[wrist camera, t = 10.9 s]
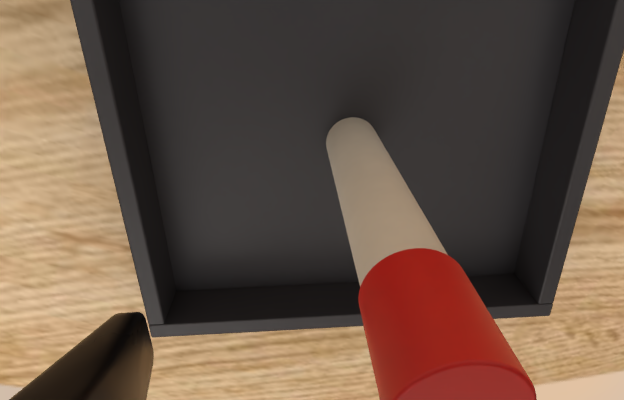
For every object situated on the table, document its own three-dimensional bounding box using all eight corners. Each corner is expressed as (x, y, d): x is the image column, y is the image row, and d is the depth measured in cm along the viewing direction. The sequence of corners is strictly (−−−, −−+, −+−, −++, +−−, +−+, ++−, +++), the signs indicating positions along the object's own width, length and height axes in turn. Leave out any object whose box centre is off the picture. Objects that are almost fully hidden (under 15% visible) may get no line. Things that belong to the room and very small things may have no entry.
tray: (518, 275, 19) (550, 316, 17) (168, 293, 19) (151, 337, 17) (599, -79, 14) (664, -90, 11) (92, -68, 13) (49, -78, 11)
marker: (378, 166, 16) (522, 460, 6) (323, 169, 16) (383, 471, 6) (381, 112, 15) (553, 357, 5) (322, 115, 15) (391, 367, 5)
